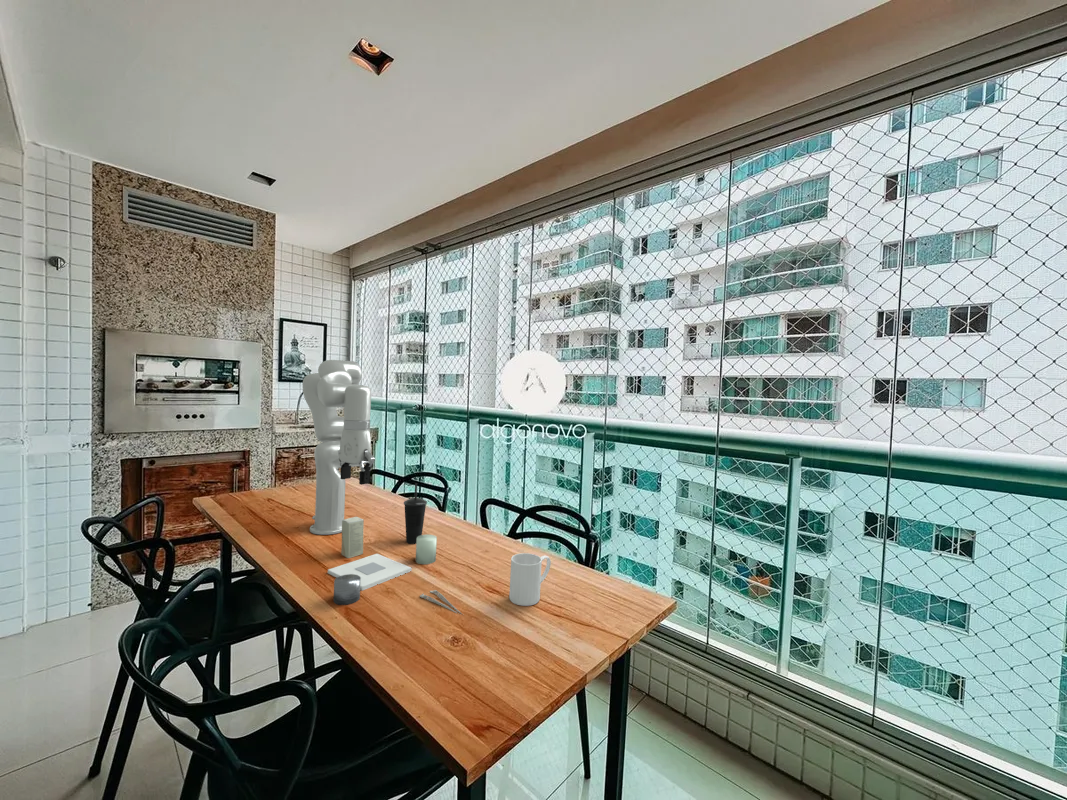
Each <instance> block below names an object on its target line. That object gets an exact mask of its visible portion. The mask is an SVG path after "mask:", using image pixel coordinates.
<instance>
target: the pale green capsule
mask: <svg viewBox="0 0 1067 800" xmlns="http://www.w3.org/2000/svg"><path fill="white" fill-rule="evenodd" d="M437 538H438V537H437V536H436V535H434V534H422V535H420V536H418V537H417V541H416V544H415V545H416V546H415V547H416V548H415V562H416V564H419V565H430V564H434V563H436V560H437Z"/></svg>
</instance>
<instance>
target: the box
mask: <svg viewBox="0 0 1067 800" xmlns="http://www.w3.org/2000/svg"><path fill="white" fill-rule="evenodd" d="M363 554H364V519H363V518H361V517H358V516H352V517H349V518H344V520H342V532H341V554H340V555H341V556H343V557H345V558H346V559H351V558H354V557H357V556H360V555H363Z"/></svg>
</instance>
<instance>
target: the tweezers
mask: <svg viewBox="0 0 1067 800" xmlns="http://www.w3.org/2000/svg"><path fill="white" fill-rule="evenodd" d="M429 593H430V594H433V595H435V596H436V595H437V597H438V598H439V599H440V600H441V601H442V602H444V603H442V602H440V601H439V600H436V599H435V598H433V597H432V596H430V595H429V596H428V595H426V594H424V593H421V594H420V595H419V597H420V598H421V599H423V598H424V600H426V599H427V600H426V601H429V602H432V603H434V604H437V605H438V606H440V605H441V607H443V608H445V609H448V611H451V612H453V613H455V614H457V613H458V614H460V615H462V614H463V613H462V612H461V611H460V610H459V609H458V608H456V607H455V606H454V605H453V604H452V603H451V602H450V601H449V600H448V599H447V598H446V597H445V596H444V595H443V594H442V593H441V592H440V591H438V590H437V589H434V590H429ZM445 603H446V604H447V605H446V604H445ZM449 606H450V607H449ZM453 608H454V609H453Z"/></svg>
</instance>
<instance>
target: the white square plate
mask: <svg viewBox="0 0 1067 800" xmlns="http://www.w3.org/2000/svg"><path fill="white" fill-rule="evenodd" d="M412 569H413V568H412V567H410V566H408V565H406V564H404V563H401V562H399V561H396V560H393V559H392V558H389V557H386V556H384V555H381V554H380V553H374V554H371V555H369V556H365V557H363V558H359V559H357V560H353V561H350V562H347V563H344V564H341V565H338V566H334V567H332V568H328V569H327V574H329V575H331V577H335V579H336V578H337V577H339V576H342V575H347V574H354V575H358V576H360V578H361V580H360V591H365V590H367V589H370V588H372V587H375V586H378V585H380V584H382V583H385V582H387V581H390V579H391V580H393V579H395V577H396V578H398V577H400V575H401V576H403V575H405V573H406V574H408V573H410V571H411V572H412V571H413V570H412ZM377 584H378V585H377Z"/></svg>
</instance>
